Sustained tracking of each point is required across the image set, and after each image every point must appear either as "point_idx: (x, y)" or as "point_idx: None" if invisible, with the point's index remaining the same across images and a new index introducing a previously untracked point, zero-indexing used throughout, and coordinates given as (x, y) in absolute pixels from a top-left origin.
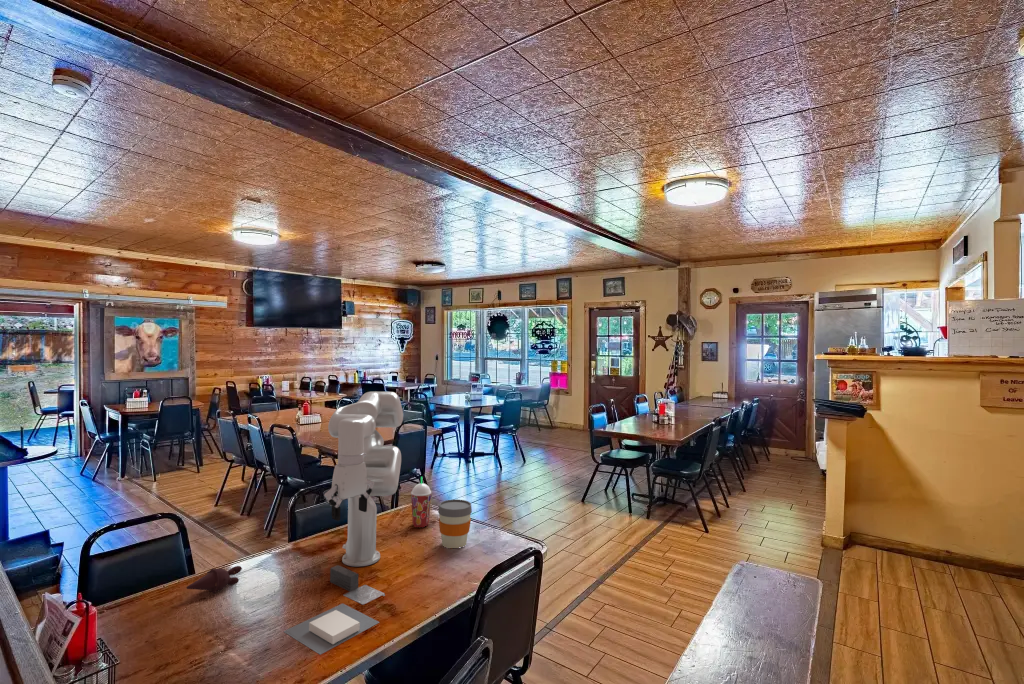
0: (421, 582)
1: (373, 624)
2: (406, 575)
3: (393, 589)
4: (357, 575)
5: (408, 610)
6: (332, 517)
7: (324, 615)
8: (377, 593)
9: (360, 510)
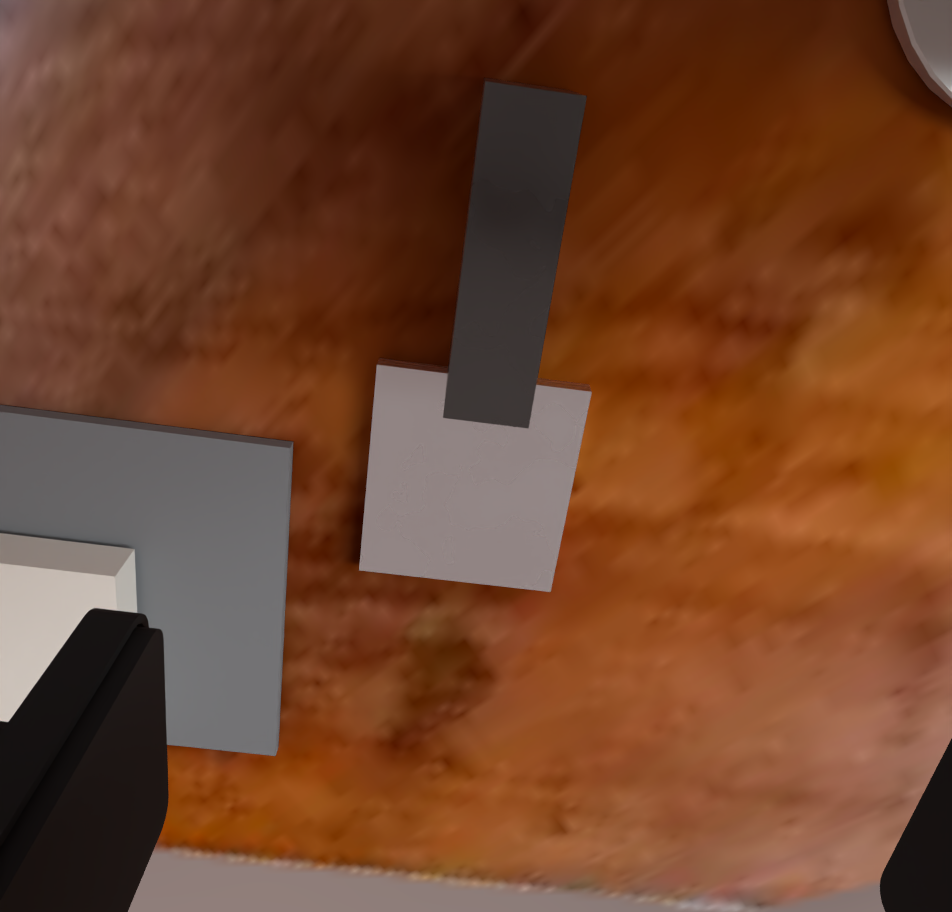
0: (822, 658)
1: (237, 745)
2: (887, 519)
3: (653, 572)
4: (516, 423)
5: (479, 777)
6: (85, 637)
7: (19, 567)
8: (524, 554)
9: (937, 771)
